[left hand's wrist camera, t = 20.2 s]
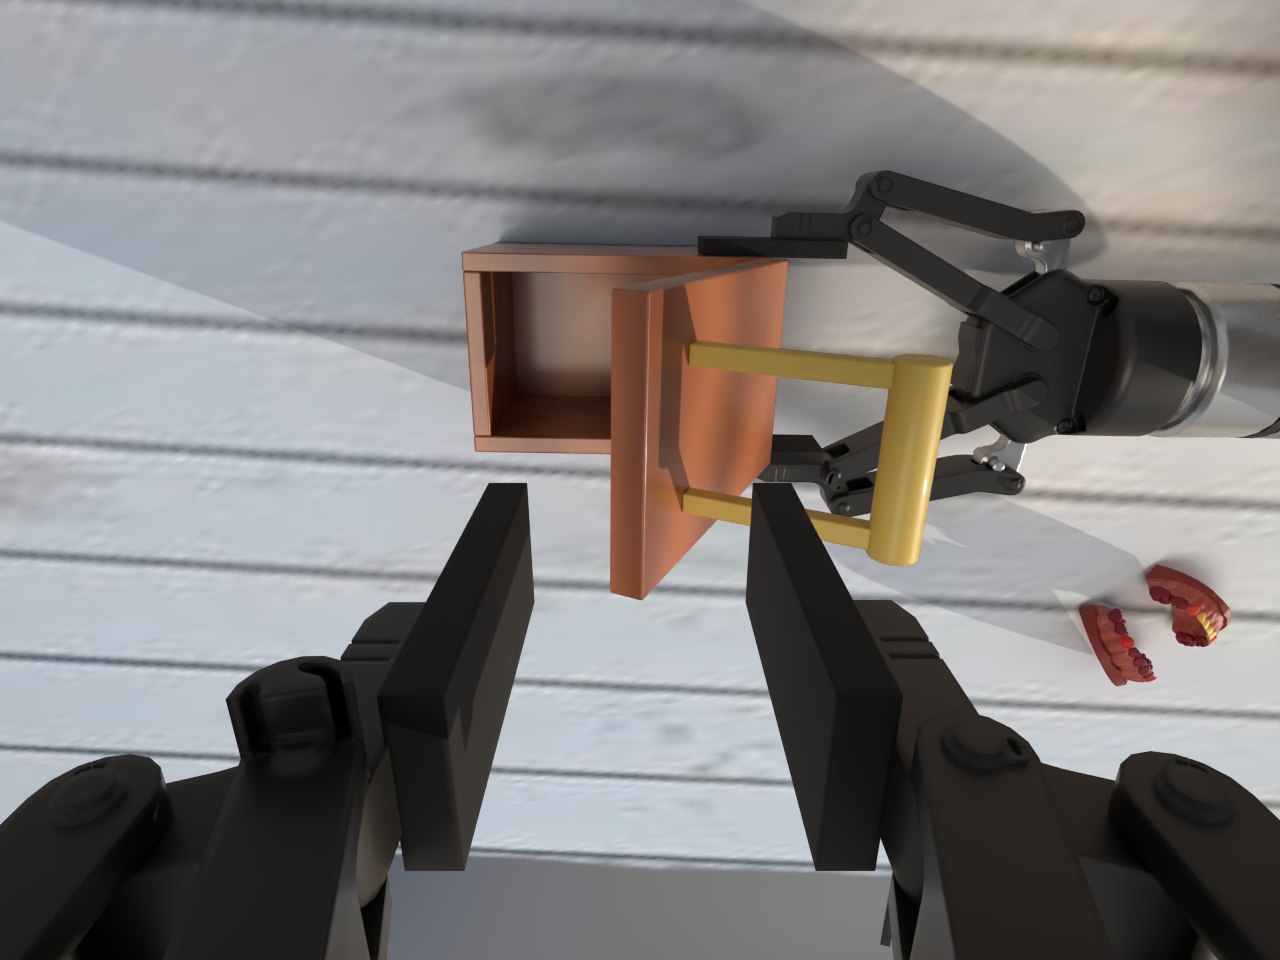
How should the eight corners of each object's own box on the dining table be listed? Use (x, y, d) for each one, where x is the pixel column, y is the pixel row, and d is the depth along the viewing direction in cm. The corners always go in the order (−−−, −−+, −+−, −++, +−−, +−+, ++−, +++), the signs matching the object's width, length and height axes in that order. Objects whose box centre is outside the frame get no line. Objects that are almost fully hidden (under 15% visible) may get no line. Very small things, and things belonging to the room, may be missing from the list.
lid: (609, 593, 22) (895, 667, 19) (610, 288, 19) (957, 313, 16) (747, 459, 34) (937, 491, 31) (762, 258, 31) (977, 269, 28)
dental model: (1258, 648, 44) (1133, 712, 45) (1209, 612, 48) (1096, 673, 49) (1221, 581, 42) (1093, 651, 44) (1173, 551, 46) (1058, 615, 48)
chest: (505, 405, 43) (474, 452, 35) (497, 241, 39) (460, 251, 31) (734, 409, 43) (756, 457, 35) (745, 246, 40) (773, 257, 31)
